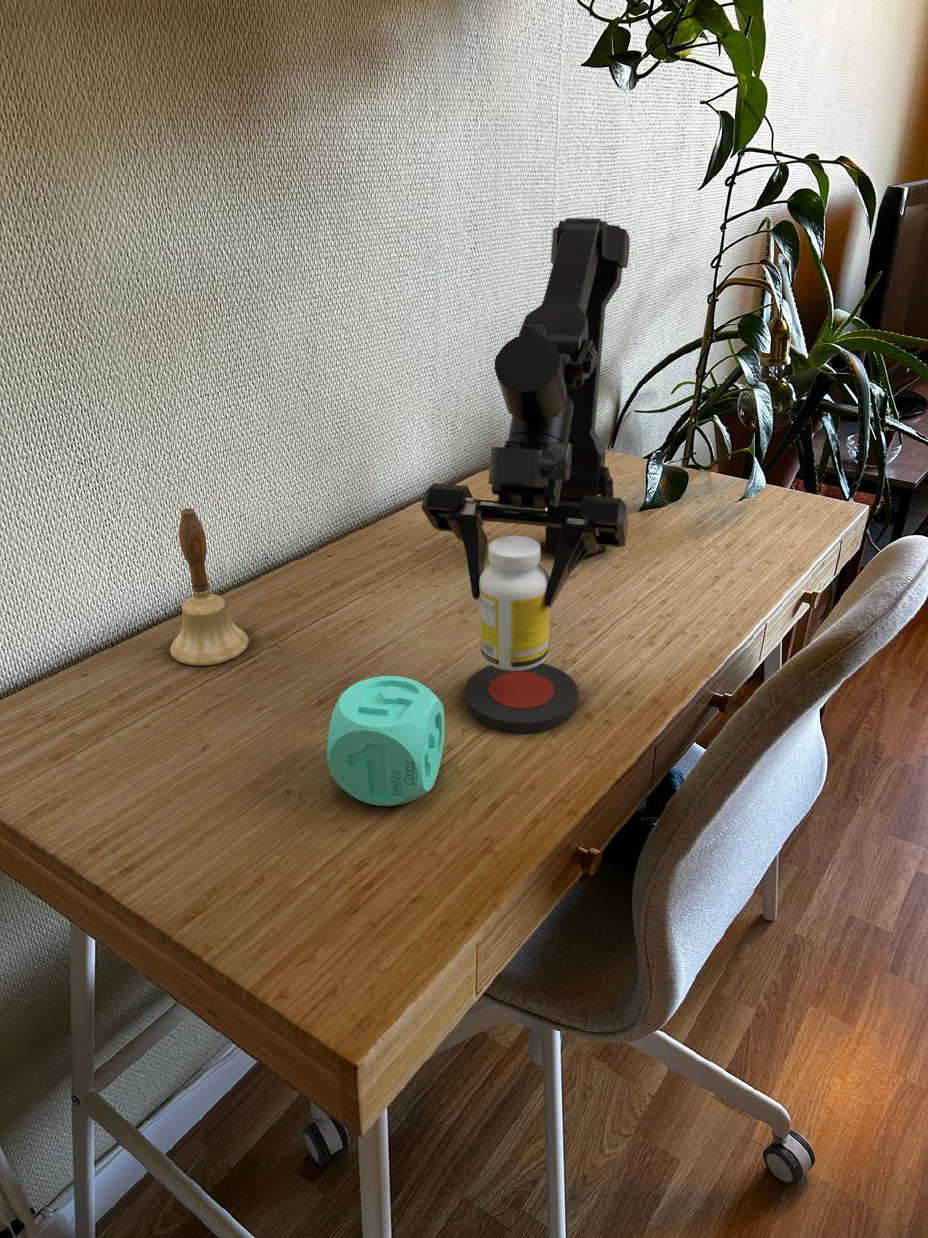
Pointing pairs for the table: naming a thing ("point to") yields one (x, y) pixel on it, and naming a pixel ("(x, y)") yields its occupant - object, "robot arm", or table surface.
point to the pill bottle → (514, 605)
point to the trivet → (521, 698)
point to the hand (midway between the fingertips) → (510, 602)
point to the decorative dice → (386, 740)
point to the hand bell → (203, 608)
